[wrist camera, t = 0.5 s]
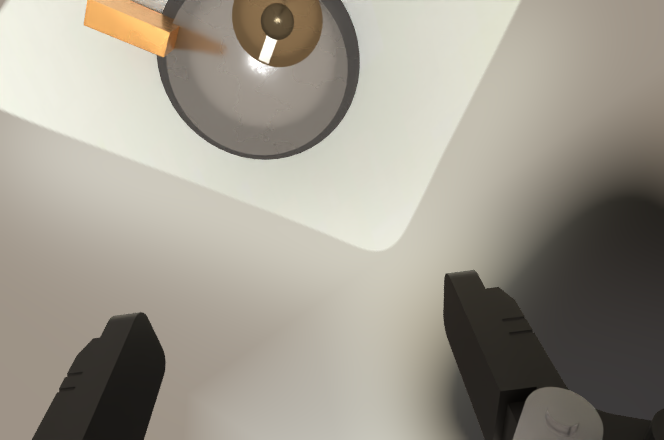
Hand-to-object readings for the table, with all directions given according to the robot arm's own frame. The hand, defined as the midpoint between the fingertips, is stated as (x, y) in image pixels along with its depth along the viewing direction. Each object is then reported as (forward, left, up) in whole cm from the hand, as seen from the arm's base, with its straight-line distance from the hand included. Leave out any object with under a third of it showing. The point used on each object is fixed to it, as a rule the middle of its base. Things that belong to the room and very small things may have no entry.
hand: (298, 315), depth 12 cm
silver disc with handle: (0, -5, -23) cm, 24 cm away
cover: (-4, -3, -22) cm, 23 cm away
